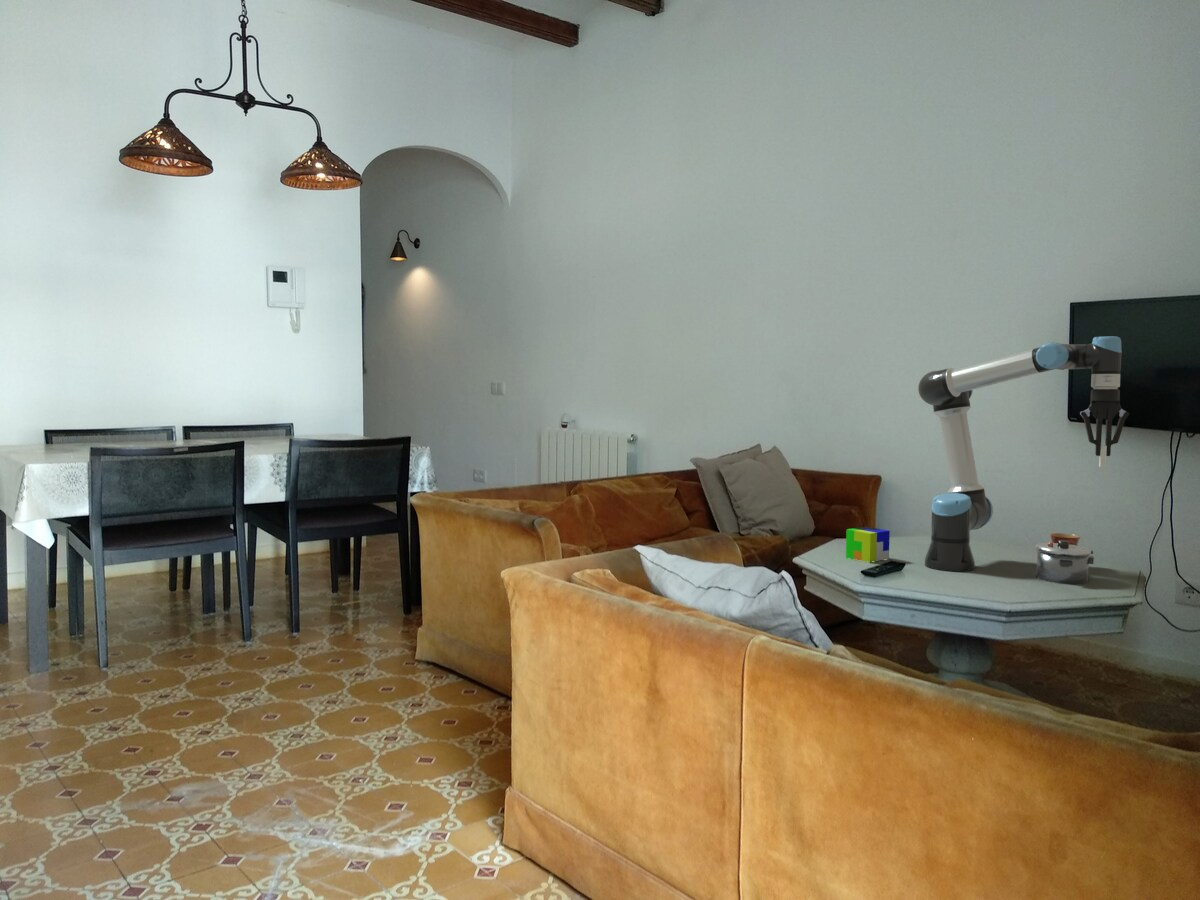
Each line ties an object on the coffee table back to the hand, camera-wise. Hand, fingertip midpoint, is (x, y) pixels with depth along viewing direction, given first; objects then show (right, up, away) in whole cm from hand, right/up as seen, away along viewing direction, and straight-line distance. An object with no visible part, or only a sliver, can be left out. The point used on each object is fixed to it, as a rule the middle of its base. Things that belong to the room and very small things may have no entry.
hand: (1102, 466), depth 261 cm
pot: (-10, -34, +5) cm, 36 cm away
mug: (0, -33, +21) cm, 39 cm away
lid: (-10, -26, +4) cm, 28 cm away
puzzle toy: (-60, -32, +35) cm, 77 cm away
